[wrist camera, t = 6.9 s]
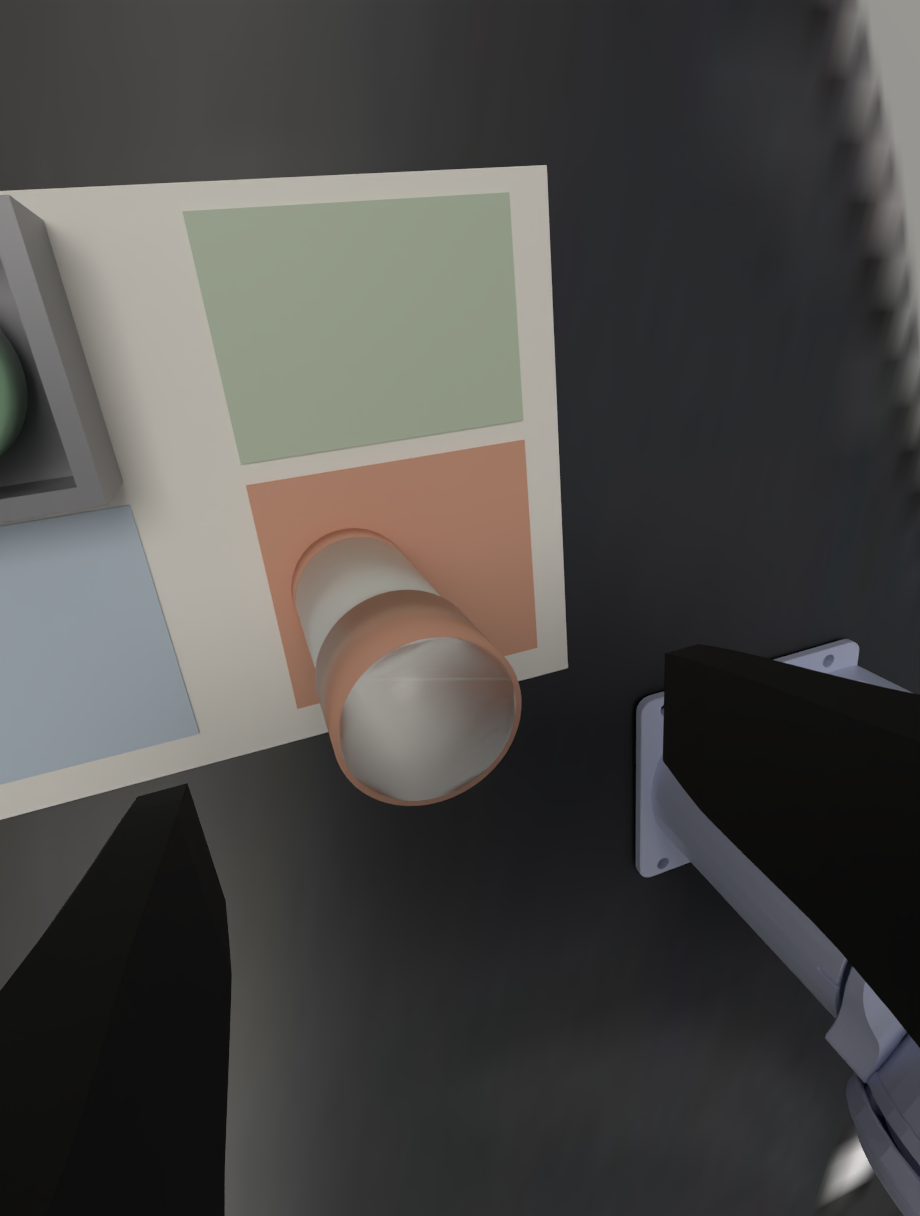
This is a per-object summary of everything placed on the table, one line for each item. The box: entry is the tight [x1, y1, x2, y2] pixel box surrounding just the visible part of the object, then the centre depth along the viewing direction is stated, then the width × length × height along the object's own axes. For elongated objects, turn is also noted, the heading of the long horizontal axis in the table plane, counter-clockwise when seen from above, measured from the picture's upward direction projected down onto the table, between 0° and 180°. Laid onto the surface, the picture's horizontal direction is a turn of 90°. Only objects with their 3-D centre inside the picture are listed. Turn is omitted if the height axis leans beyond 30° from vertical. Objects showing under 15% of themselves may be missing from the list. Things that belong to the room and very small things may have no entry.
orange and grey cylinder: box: [291, 528, 521, 806], centre depth 14 cm, size 3×3×7 cm
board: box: [0, 165, 568, 820], centre depth 16 cm, size 16×13×1 cm
